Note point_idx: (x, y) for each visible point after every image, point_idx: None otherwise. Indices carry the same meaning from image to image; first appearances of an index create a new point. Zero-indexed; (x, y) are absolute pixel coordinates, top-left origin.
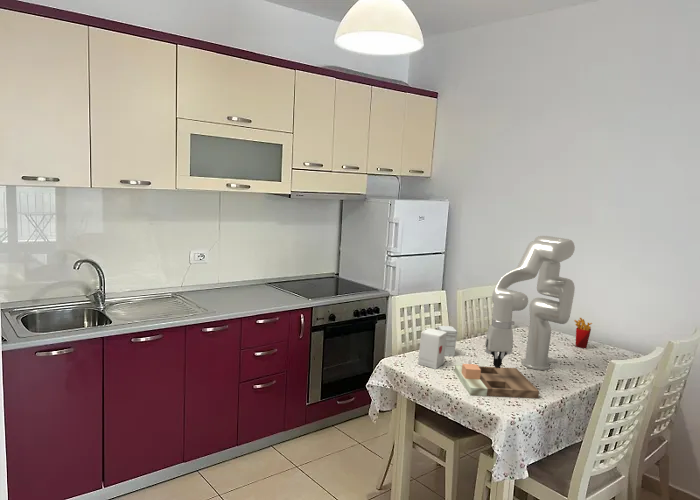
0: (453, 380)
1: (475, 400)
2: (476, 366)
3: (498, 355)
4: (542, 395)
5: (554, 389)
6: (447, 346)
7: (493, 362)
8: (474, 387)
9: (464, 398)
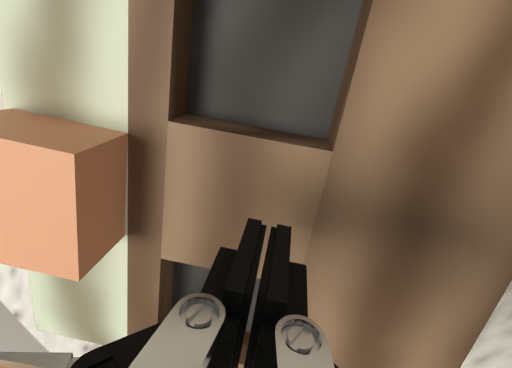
0: None
1: (79, 341)
2: (56, 204)
3: (275, 327)
4: (472, 351)
5: None
6: None
7: (215, 261)
8: (57, 328)
9: (33, 319)
